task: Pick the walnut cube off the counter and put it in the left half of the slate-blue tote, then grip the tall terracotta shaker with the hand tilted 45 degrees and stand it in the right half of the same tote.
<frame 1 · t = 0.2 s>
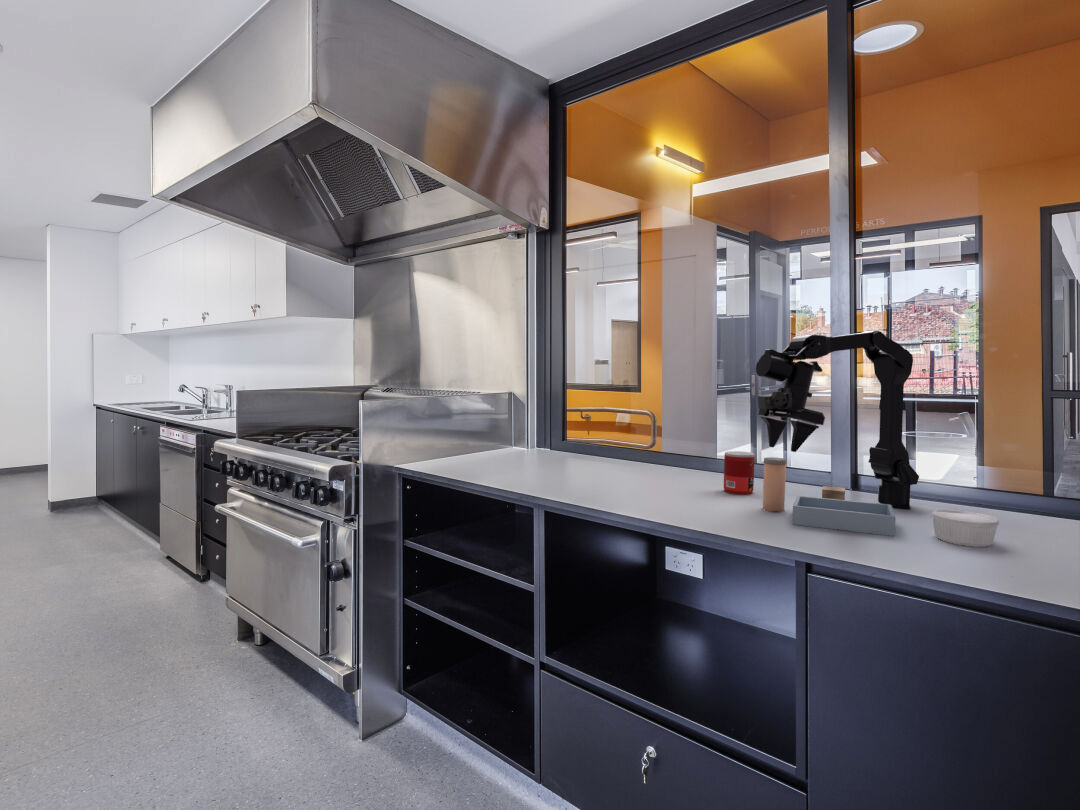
hand: (781, 449, 143), 15 cm above the counter, tool pointing down, fingers open, 9 cm apart
tote: (841, 523, 133), on the counter
canned food: (738, 492, 167), on the counter
shaker: (773, 509, 146), on the counter
cube: (832, 508, 148), on the counter
ramekin: (963, 542, 120), on the counter
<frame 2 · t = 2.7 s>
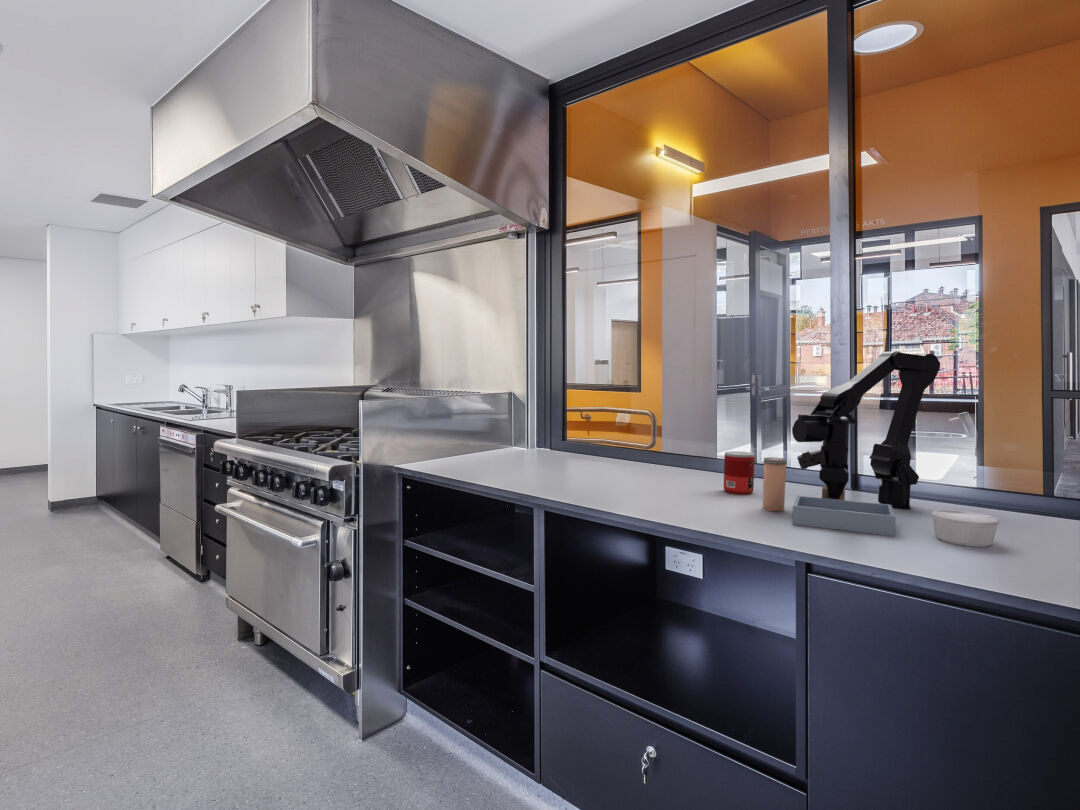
hand: (833, 503, 148), 1 cm above the counter, tool pointing down, fingers closed on cube, 5 cm apart
cube: (832, 508, 148), on the counter, touching gripper
everything else where it was.
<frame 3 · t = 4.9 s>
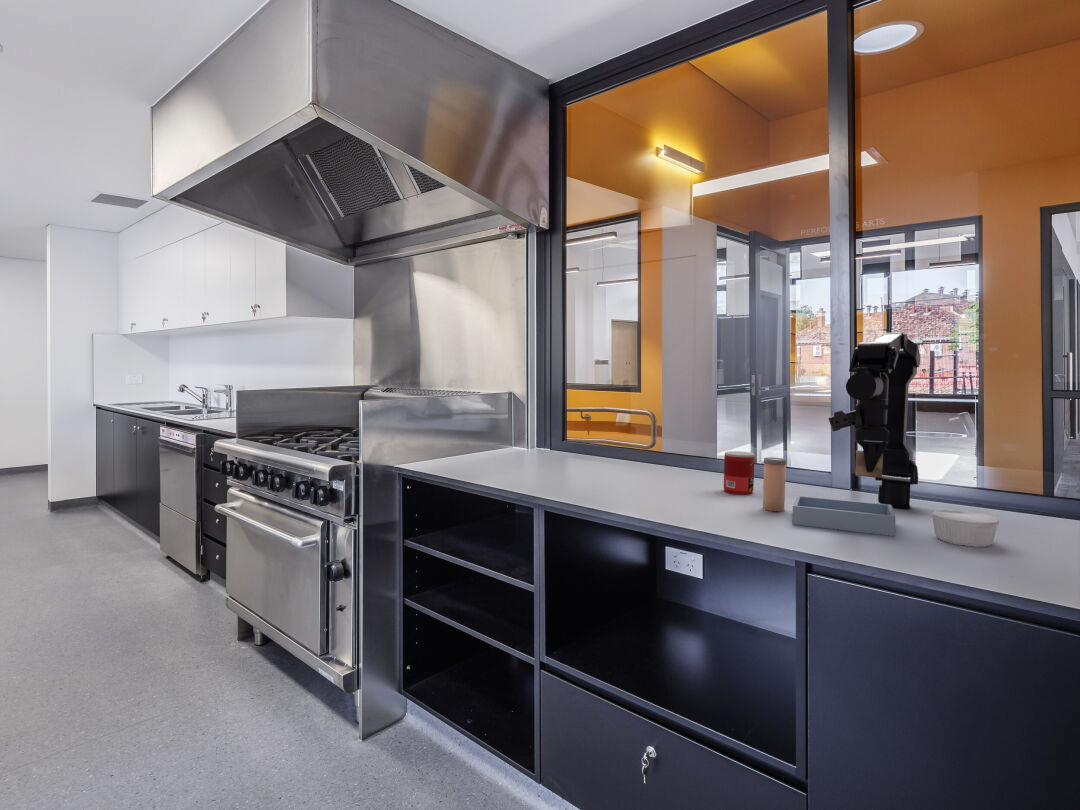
hand: (869, 470, 131), 12 cm above the counter, tool pointing down, fingers closed on cube, 5 cm apart
cube: (868, 475, 131), point 11 cm above the counter, touching gripper
everything else where it was.
when the fingers open (3 cm above the counter, at t = 7.1 s): cube stays where it is, resting on tote.
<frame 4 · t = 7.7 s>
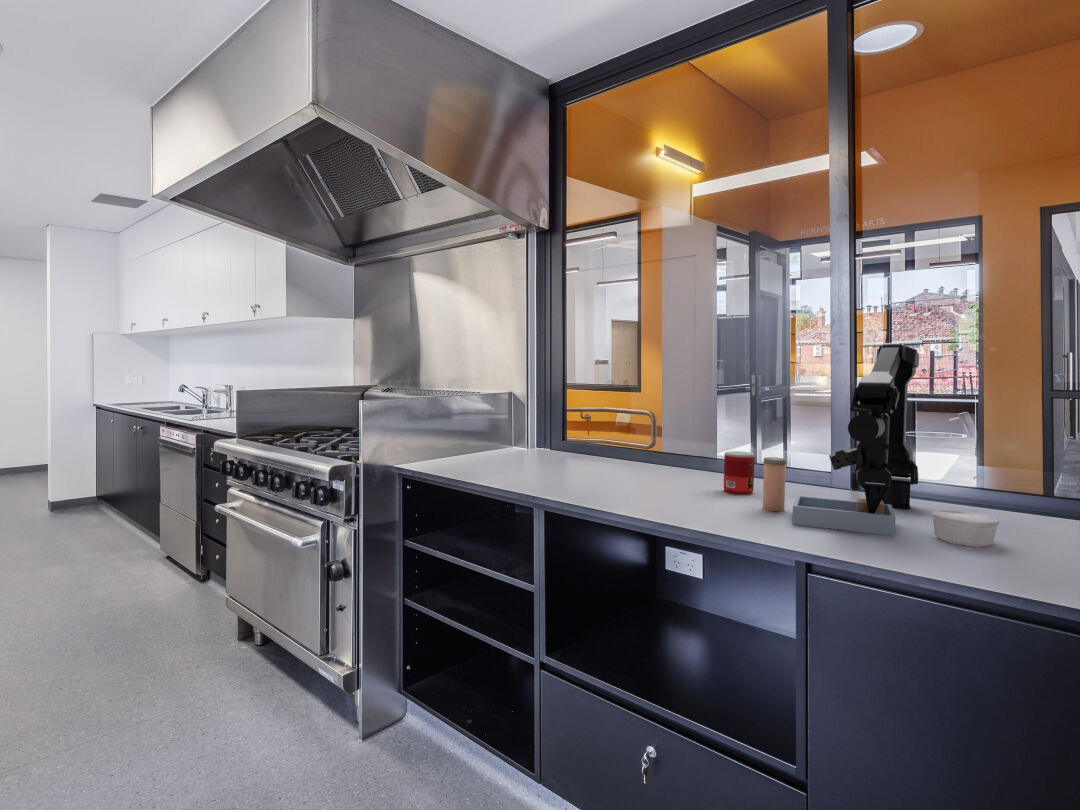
hand: (870, 509, 130), 4 cm above the counter, tool pointing down, fingers open, 9 cm apart
cube: (869, 523, 131), point 1 cm above the counter, touching tote
everything else where it was.
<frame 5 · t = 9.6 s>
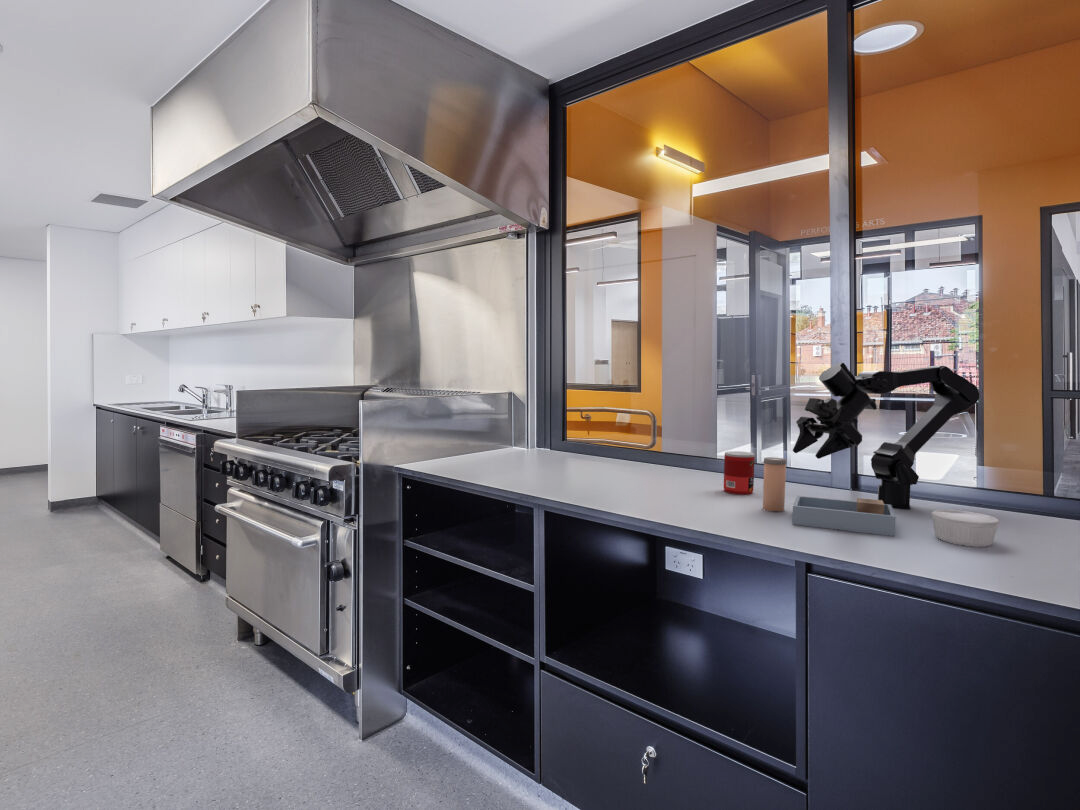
hand: (805, 454, 147), 13 cm above the counter, tool tilted 45°, fingers open, 9 cm apart
nothing on the counter moved.
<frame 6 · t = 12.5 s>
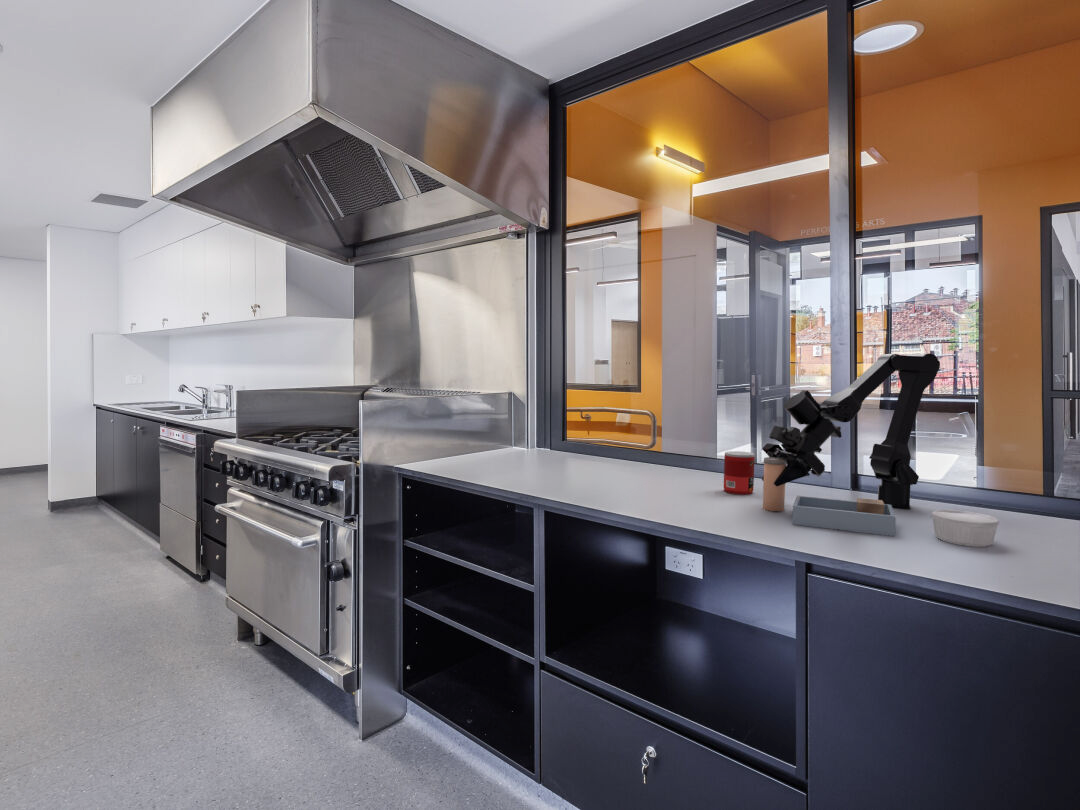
hand: (769, 482, 145), 7 cm above the counter, tool tilted 45°, fingers closed on shaker, 5 cm apart
shaker: (773, 509, 146), on the counter, touching gripper
everything else where it was.
when the fingers open (9 cm above the counter, at t = 15.8 s): shaker drops 1 cm, resting on tote.
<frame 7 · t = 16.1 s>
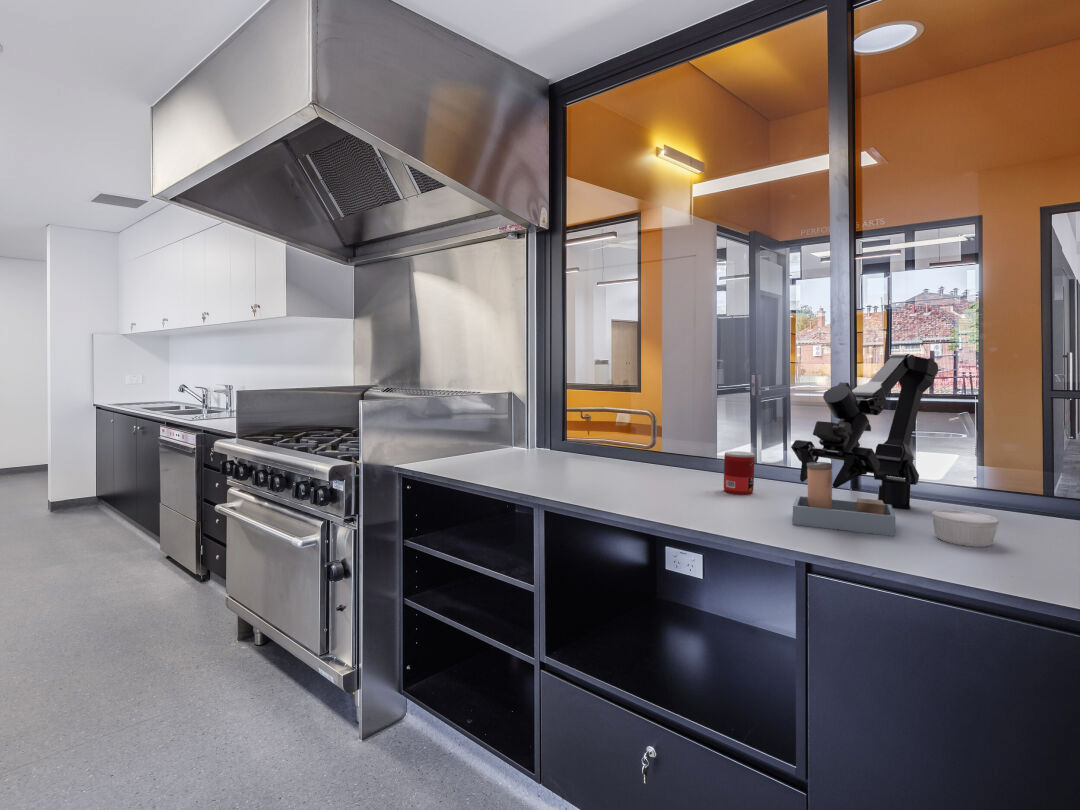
hand: (817, 483, 133), 9 cm above the counter, tool tilted 45°, fingers open, 8 cm apart
shaker: (820, 518, 135), point 1 cm above the counter, touching tote
everything else where it was.
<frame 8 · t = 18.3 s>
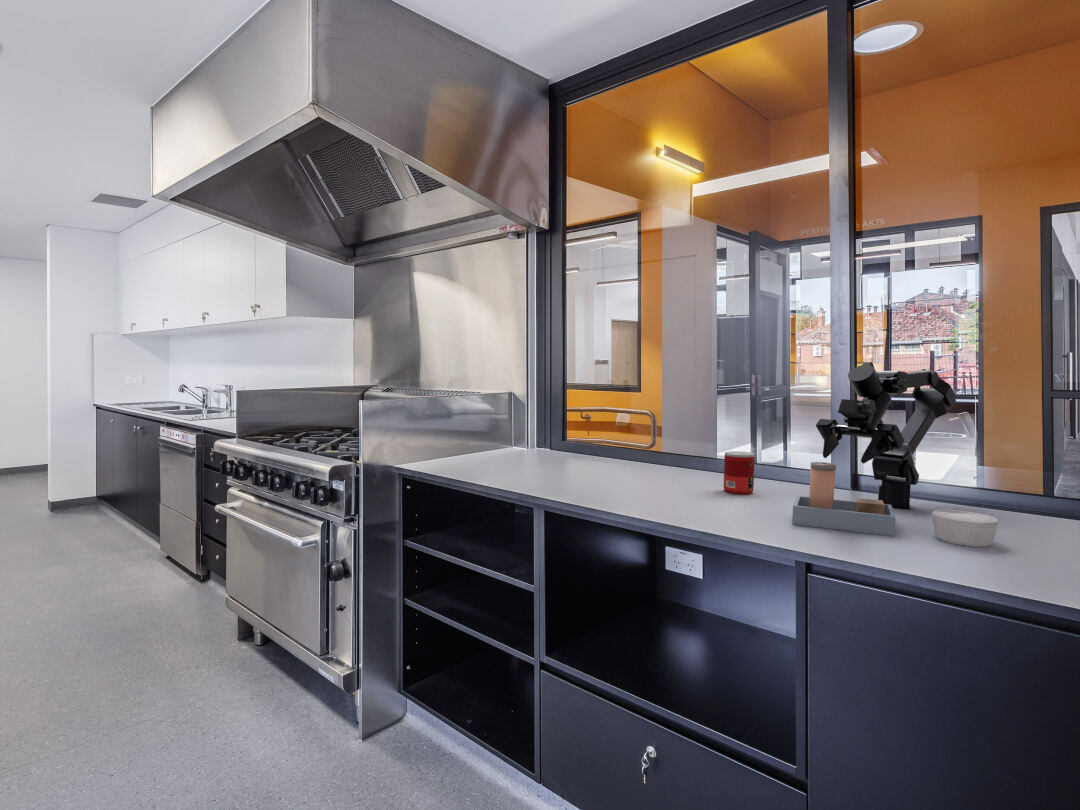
hand: (842, 459, 138), 14 cm above the counter, tool tilted 45°, fingers open, 9 cm apart
nothing on the counter moved.
at the end: cube inside the target area on the tote (5.4 cm from its centre), point 0.6 cm above the tote's base; shaker inside the target area on the tote (4.4 cm from its centre), point 0.7 cm above the tote's base; shaker tilted 1° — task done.
